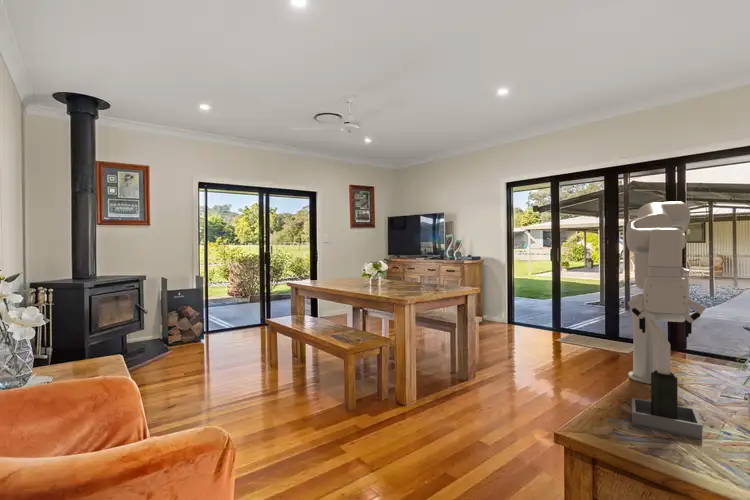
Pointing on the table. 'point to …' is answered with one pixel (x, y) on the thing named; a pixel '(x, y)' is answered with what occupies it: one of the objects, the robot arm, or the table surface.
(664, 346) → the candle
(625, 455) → the table surface
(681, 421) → the tray
